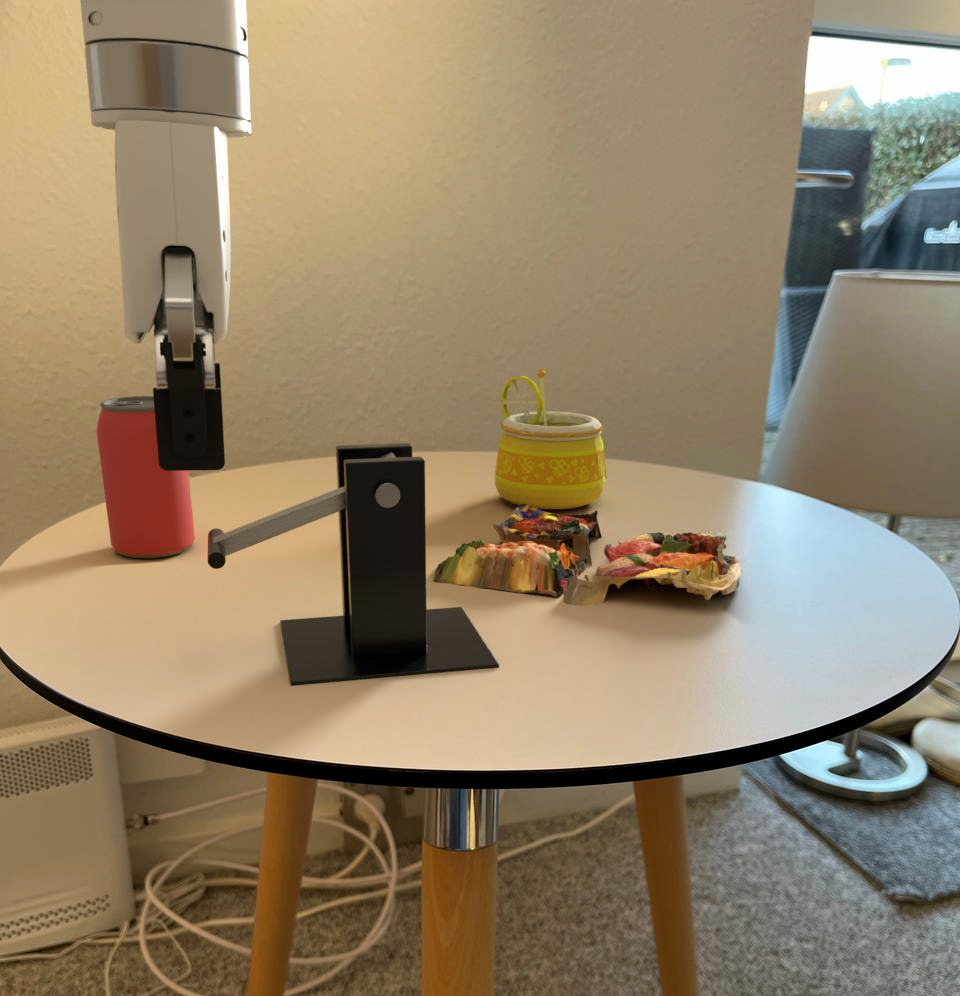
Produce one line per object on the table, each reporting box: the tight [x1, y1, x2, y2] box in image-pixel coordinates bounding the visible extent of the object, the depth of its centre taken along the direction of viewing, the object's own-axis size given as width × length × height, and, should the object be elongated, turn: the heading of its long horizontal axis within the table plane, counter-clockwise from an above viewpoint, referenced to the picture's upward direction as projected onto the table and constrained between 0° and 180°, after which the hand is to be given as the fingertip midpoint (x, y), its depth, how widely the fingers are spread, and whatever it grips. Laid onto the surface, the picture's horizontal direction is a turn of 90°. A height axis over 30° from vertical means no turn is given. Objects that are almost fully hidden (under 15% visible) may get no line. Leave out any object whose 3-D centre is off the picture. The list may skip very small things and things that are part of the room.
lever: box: [207, 452, 396, 570], centre depth 58 cm, size 12×5×2 cm, turn 104°
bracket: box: [279, 442, 500, 687], centre depth 60 cm, size 12×10×13 cm
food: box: [432, 504, 742, 606], centre depth 77 cm, size 22×19×4 cm
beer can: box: [96, 395, 196, 560], centre depth 81 cm, size 7×7×12 cm
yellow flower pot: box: [494, 368, 608, 511], centre depth 99 cm, size 13×11×12 cm
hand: (194, 449), depth 56 cm, fingers open, 9 cm apart
